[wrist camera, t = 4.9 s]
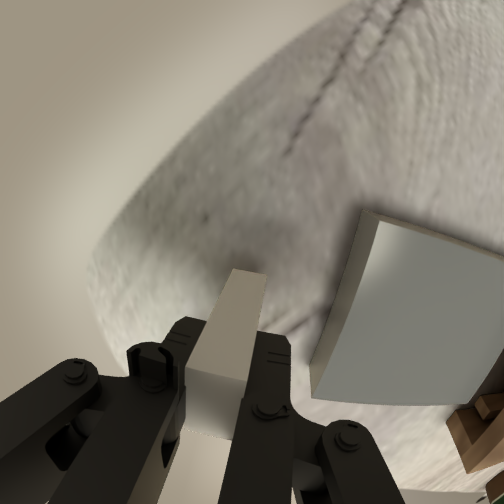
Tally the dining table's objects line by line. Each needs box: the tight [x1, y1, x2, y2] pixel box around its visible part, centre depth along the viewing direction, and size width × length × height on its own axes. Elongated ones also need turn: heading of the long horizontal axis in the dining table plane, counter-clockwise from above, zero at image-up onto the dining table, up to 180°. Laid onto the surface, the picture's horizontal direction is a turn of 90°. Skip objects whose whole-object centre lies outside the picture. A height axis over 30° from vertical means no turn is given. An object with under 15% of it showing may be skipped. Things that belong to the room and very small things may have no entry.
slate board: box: [309, 209, 504, 406], centre depth 12 cm, size 9×11×3 cm
